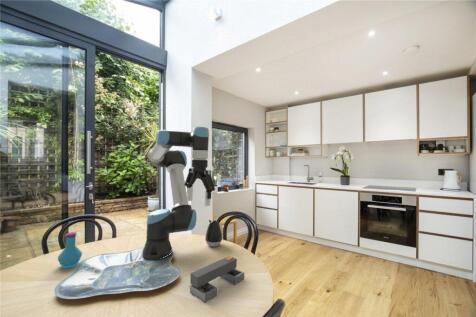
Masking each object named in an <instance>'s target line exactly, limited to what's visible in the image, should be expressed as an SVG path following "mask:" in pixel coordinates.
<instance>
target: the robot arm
mask: <svg viewBox="0 0 476 317" xmlns="http://www.w3.org/2000/svg"><path fill="white" fill-rule="evenodd" d="M192 130H193V131H191V132H188V131H178V130H170V129H169V130H168V129H157V131H156V132H155V133H156V134H155V144H154V145H153V147H152V148H150V149H149V150H148V152H147V154H146V159H147V160H148V162H149V164H151V165H152V166H154V167H157V168H165V169H166V171H167V172H168V173H169V182H170V188H171V189H170V190H171V198H172V203H173V206H172V208H171V211H170V209H169V208H162V209H157V210H153V211H151V212H149V213H148V214H147V216H146V241H145V243H144V244H145V245H144V246H143V249H142V254H141V256H142V258H143V259H144V260H149V261H156V259H159V260H161V259H160V258H163V257H165V256H167V255H169V254H170V253H171V252H172V253H173V247H172V244H171V240H170V234H173V233H181V232H182V233H183V232H187V231H192V230H193V229H194V228H196V225H197V220H198V219H197V211H196V209H193V207H192V205H191V204H190V203H189V202H191V201H193V195H194V193H193V192H194V184H195V182H196V181H197V179H198V180H201V182H202V185H203V186H204V189H205V191H204V194H205V195H204V206H205V207H208V206H211V199H212V192H214V191H216V188H215V184H214V181H213V177H212V170H211V169H207V168H208V165H209V163H208V162H209V161H208V159H209V137H210V130H209V128H208V127H206V126H205V127H204V126H194V127H193V129H192ZM172 147H184V148H192V150H191V151H192V153H191V154H192V156H191V157H192V160H191V168H190V167H189V168H188V173H187V176H186V178H185V175H184V171H185V168H186V166H187V164H188V162H187V161H188V159H187V155H186V153H185V152H184V151H183V150H178V149H173V150H172V149H171V148H172ZM163 259H164V258H163Z"/></svg>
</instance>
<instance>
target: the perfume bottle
mask: <svg viewBox="0 0 476 317" xmlns="http://www.w3.org/2000/svg"><path fill="white" fill-rule="evenodd" d="M77 235H78V234H77V233H76V232H74V231H72V232H71V231H70V232H68V233H67V232H66V234H65V235H64V236H65V247H64V249H63V250H62V252H61V253H60V254H59V255H58V256H57V261H58V262H59V265H60V267H61V269H71V268H73V267H76V266H78V265H79V261H81V258H82V256H83V251H81V250H80V249H79V248H78V247H77V246H76V236H77Z"/></svg>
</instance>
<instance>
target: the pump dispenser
mask: <svg viewBox="0 0 476 317" xmlns="http://www.w3.org/2000/svg"><path fill="white" fill-rule="evenodd" d="M208 222H209V224H208V226H207V229H206V232H205V242H206V244H207V246H209V247H211V248H216V247H218V246H220V245H221V244H222V241H223V233H222V228H221V225H220V222H218V221H217V220H215V219H213V220H211V219H209V220H208Z"/></svg>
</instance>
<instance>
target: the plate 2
mask: <svg viewBox="0 0 476 317" xmlns="http://www.w3.org/2000/svg"><path fill="white" fill-rule="evenodd" d="M230 273H231V274H232V275H231V274H229V272H227V273H226V274H224V275H222V276H220V277H219V278H220V279H223V280H224V281H226V282H228V283H230V284H232V285H234V286H235V285H237V284H239V283H241V282H243V281H244V280H245V272H244V271H242V270H239V269H238V268H235V269H233V270H231V271H230Z"/></svg>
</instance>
